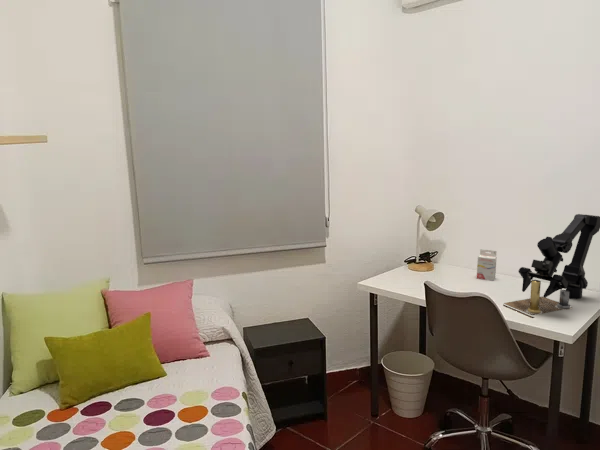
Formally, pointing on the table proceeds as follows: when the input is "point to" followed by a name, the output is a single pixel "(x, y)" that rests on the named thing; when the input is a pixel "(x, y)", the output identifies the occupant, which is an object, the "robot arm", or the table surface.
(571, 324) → the table surface
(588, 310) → the table surface
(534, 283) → the brass pin
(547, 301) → the brown flat sheet
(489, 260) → the ink cartridge box
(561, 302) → the fixed pin
